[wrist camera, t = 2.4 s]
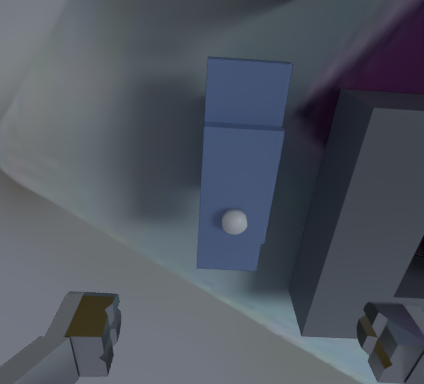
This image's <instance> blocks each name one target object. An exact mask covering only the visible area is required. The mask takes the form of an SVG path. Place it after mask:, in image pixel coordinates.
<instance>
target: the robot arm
mask: <svg viewBox="0 0 424 384" xmlns="http://www.w3.org/2000/svg"><path fill="white" fill-rule="evenodd" d="M119 302H120V301H119V295H118V294H112V293H111V294H110V293H96V292H73V291H70V292H69V293H68V294H67V295H66V296H65V298H64V300H63V302H62V304H61V306H60V308H59V310H58V312H57V313H56V315H55V317H54V319H53V321H52V323H51V325H50V327H49V329H48V331H47V333H46V335H45V337H38V338H37V339H36V340H35V341H33V342H32V343H31V344H29V345H28V346H27V347H25V348H24V349H23V350H21V351H20V352H19V353H17V354H16V355H15V356H14V357H12V358H11V359H10V360H8V361H7V362H6V363H4V364H3V365H2V366H0V384H74V383H75V382H76V381H77V380H78V379H79V377H90V376H91V377H99V376H108V374H109V370H110V367H111V363H112V359H113V356H114V354H113V346H114V344H116V343H117V341H118V338H119V334H120V327H121V312H120V310H119V309H118V305H119ZM363 310H364V312H365V315H364V316H362V317H361V318H360V319H359V320H358V323H357V338H358V341H359V344H360V346H361V348H362V349H363V350H364V351H365V352H366V353H368V354H369V359H368V363H369V365H370V367H371V369H372V371H373V374H374V376H375V378H376V380H377V382H381V383H401V384H424V312H423V311H422V310H421V308H420V307H419V306H418V305H417V304H415V303H397V302H368V303H366V304H365V306H364V309H363Z"/></svg>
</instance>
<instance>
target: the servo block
mask: <svg viewBox="0 0 424 384" xmlns="http://www.w3.org/2000/svg"><path fill="white" fill-rule="evenodd" d="M292 68H293V64H292V63H290V62H281V61H266V60H252V59H238V58H223V57H209V56H208V64H207V83H206V101H205V120H204V136H203V155H202V174H201V193H200V212H199V231H198V251H197V268H201V269H221V270H241V271H256V269H257V264H258V258H259V253H260V247H261V243H263V244H264V243H265V237H266V232H267V227H268V221H269V216H270V210H271V205H272V200H273V194H274V189H275V183H276V178H277V173H278V167H279V162H280V156H281V151H282V146H283V140H284V135H285V131H284V129H283V127H282V124H283V118H284V112H285V107H286V101H287V96H288V90H289V84H290V79H291V73H292Z"/></svg>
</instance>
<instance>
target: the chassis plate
mask: <svg viewBox="0 0 424 384" xmlns="http://www.w3.org/2000/svg"><path fill="white" fill-rule="evenodd" d="M423 236H424V94H413V93H398V92H383V91H369V90H354V89H341V90H340V94H339V98H338V101H337V105H336V109H335V113H334V117H333V121H332V125H331V129H330V132H329V136H328V140H327V144H326V148H325V152H324V156H323V160H322V164H321V167H320V171H319V175H318V179H317V183H316V187H315V191H314V195H313V199H312V202H311V206H310V210H309V214H308V218H307V222H306V226H305V230H304V233H303V237H302V241H301V245H300V249H299V253H298V257H297V261H296V265H295V268H294V272H293V276H292V280H291V284H290V288H289V293H290V296H291V300H292V303H293V307H294V311H295V314H296V318H297V322H298V325H299V329H300V333H301V336H308V337H331V338H353V339H358V338H357V323H358V320H359V319H360V318H361V317H362V316H364V315H365V312H364V310H363V309H364V306H365V304H366V303H368V302H397V303H415V304H417V305H418V306H419V307H420V308H421V310H422V311H423V312H424V257H420V256H414V254H415V252H416V250H417V248H418V246H419V244H420V242H421V240H422V238H423Z"/></svg>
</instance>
